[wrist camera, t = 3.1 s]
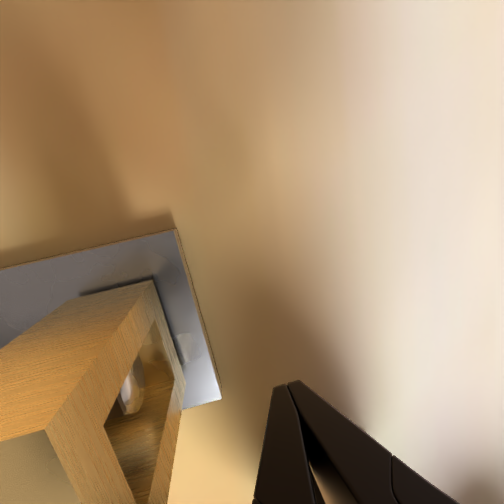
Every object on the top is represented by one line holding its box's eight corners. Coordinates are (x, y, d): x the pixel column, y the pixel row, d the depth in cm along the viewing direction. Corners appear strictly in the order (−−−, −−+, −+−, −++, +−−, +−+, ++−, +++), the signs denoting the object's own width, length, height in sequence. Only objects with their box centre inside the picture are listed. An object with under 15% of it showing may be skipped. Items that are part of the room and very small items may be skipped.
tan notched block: (152, 279, 13) (44, 429, 5) (185, 382, 14) (146, 635, 6) (68, 299, 13) (-203, 497, 4) (110, 403, 14) (-35, 696, 6)
